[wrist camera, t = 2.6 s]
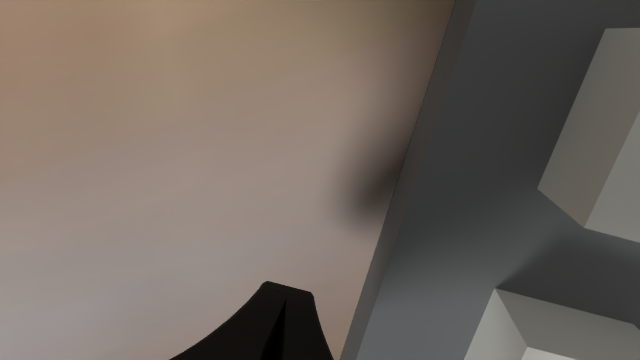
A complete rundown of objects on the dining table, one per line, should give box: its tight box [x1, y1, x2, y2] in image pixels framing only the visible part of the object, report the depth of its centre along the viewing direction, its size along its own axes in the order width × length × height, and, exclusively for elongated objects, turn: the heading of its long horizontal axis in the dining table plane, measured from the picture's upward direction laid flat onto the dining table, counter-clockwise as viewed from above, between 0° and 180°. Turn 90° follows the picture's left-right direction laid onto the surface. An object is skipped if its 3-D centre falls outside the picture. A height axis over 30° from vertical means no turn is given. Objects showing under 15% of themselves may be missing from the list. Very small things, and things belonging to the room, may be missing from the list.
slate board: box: [340, 0, 640, 360], centre depth 13 cm, size 16×12×2 cm
